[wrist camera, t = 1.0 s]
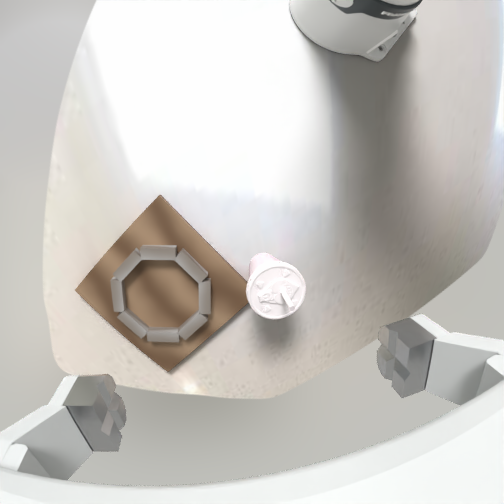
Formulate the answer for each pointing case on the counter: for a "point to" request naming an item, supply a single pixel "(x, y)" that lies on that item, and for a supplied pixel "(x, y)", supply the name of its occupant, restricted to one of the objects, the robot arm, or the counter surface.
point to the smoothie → (274, 287)
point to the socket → (164, 286)
